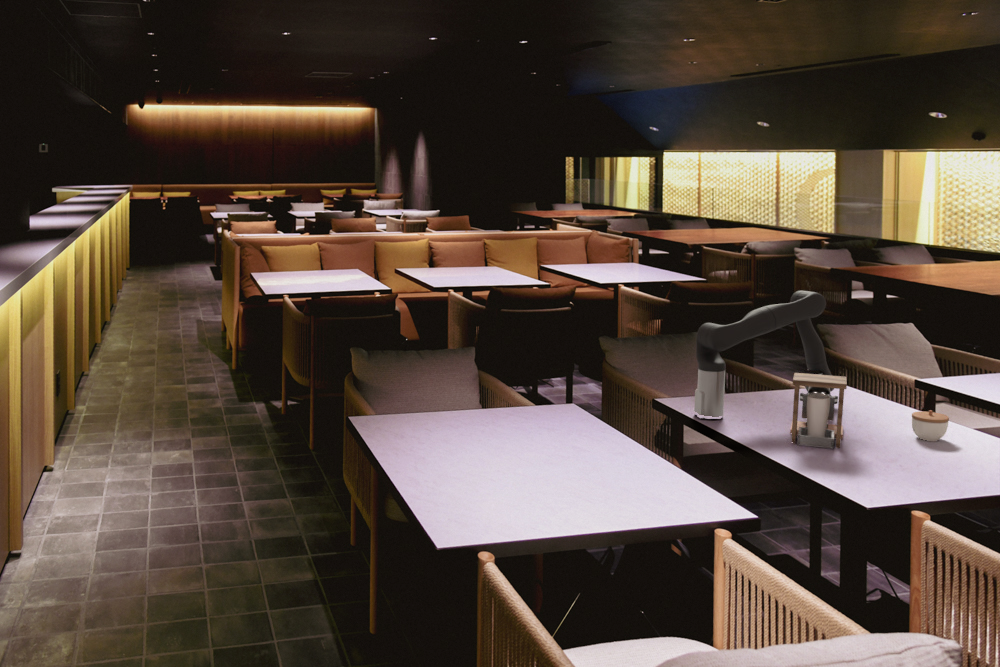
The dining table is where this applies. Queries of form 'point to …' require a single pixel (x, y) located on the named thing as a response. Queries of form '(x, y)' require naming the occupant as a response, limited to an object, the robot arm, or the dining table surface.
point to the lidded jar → (929, 425)
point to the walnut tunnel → (818, 381)
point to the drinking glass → (817, 414)
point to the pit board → (829, 427)
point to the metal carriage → (813, 440)
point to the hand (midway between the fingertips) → (818, 404)
